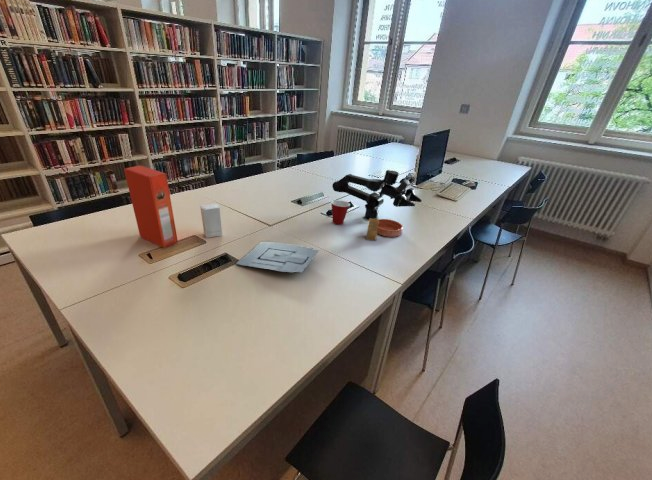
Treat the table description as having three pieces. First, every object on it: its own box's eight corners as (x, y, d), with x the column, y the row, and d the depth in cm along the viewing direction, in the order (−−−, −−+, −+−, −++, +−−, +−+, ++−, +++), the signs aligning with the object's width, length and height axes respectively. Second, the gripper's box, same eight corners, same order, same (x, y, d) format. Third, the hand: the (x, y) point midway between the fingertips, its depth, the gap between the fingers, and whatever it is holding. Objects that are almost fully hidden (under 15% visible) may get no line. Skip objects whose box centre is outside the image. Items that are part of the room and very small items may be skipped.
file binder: (162, 248, 144) (149, 177, 127) (139, 237, 151) (123, 168, 134) (177, 242, 149) (166, 173, 133) (154, 231, 157) (141, 165, 140)
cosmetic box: (219, 231, 162) (217, 203, 154) (222, 236, 157) (220, 207, 150) (203, 233, 159) (199, 204, 151) (205, 238, 154) (202, 209, 146)
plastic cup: (350, 221, 183) (353, 201, 177) (343, 228, 174) (346, 207, 168) (332, 217, 187) (334, 197, 180) (325, 223, 178) (327, 203, 172)
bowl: (369, 233, 171) (370, 226, 169) (376, 223, 183) (378, 216, 181) (398, 240, 166) (399, 233, 164) (403, 229, 178) (405, 223, 176)
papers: (300, 280, 126) (299, 272, 124) (235, 269, 137) (234, 262, 135) (320, 254, 146) (320, 246, 144) (262, 246, 156) (262, 239, 154)
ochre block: (366, 239, 165) (369, 221, 159) (366, 235, 168) (369, 218, 163) (375, 240, 164) (378, 222, 159) (375, 236, 168) (378, 219, 163)
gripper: (389, 181, 164) (417, 192, 158) (404, 174, 177) (430, 185, 171) (382, 201, 171) (409, 213, 164) (397, 193, 184) (422, 204, 177)
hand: (418, 203), depth 169 cm, fingers open, 9 cm apart
